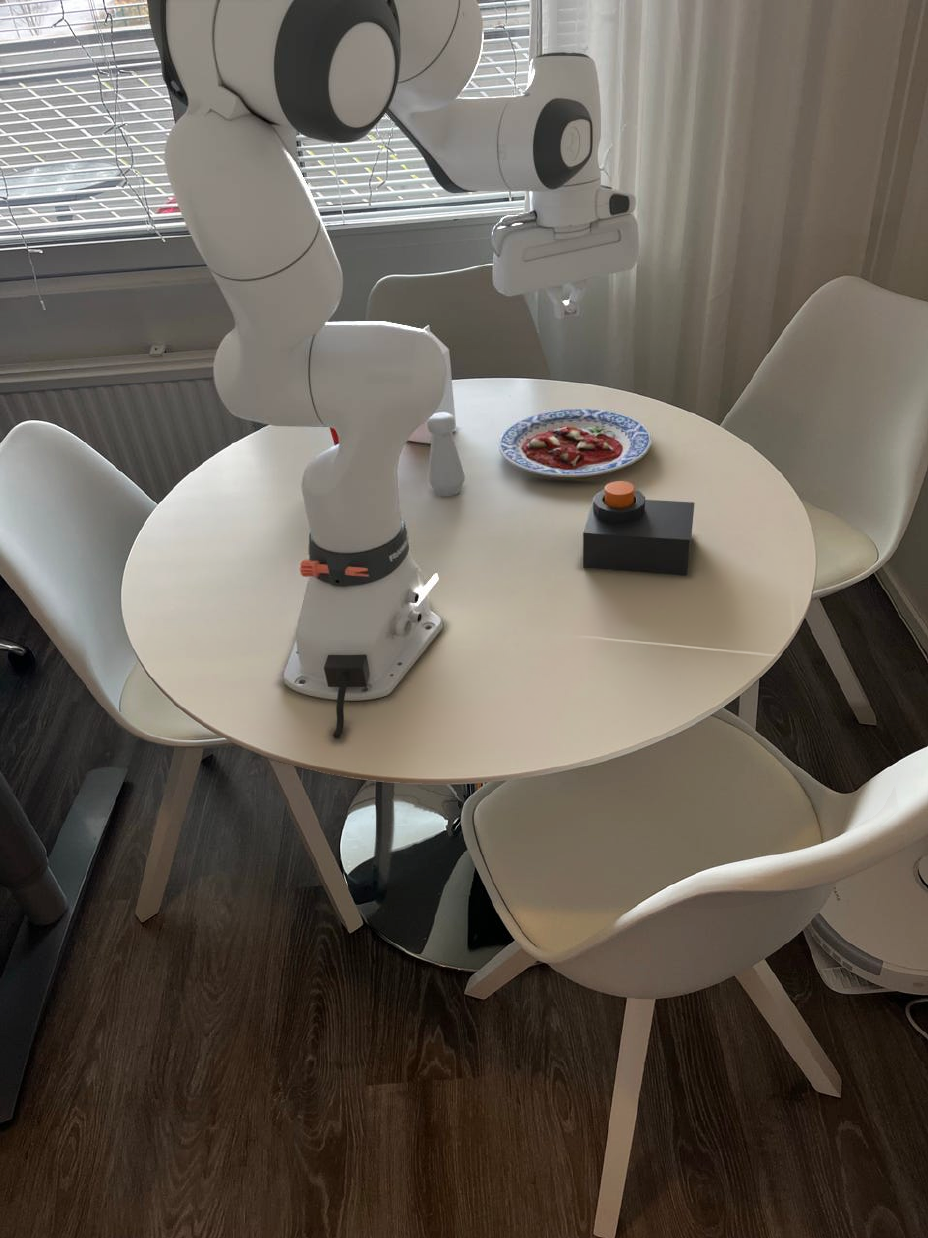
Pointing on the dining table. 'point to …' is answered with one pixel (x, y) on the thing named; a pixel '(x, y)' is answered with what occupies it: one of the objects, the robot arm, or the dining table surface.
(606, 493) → the orange push button
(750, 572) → the dining table surface
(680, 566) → the button base
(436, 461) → the salt shaker
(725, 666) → the dining table surface
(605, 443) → the ceramic plate
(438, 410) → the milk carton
